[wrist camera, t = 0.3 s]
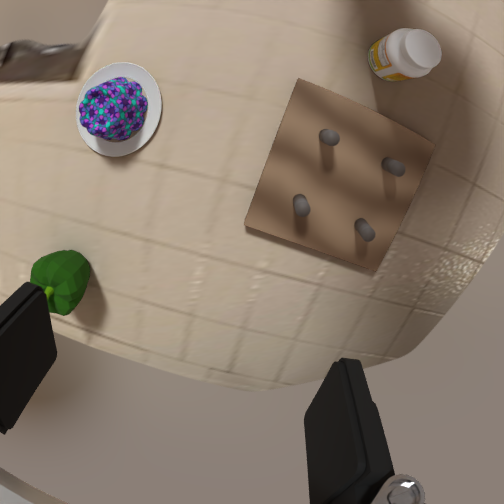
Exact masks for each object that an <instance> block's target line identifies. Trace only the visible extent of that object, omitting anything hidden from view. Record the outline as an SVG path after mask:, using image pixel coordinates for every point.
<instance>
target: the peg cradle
mask: <svg viewBox="0 0 504 504" xmlns="http://www.w3.org/2000/svg"><path fill="white" fill-rule="evenodd" d="M434 148H435V144H433V143H432V142H430V141H428V140H427V139H425V138H423V137H422V136H420V135H418V134H416V133H415V132H413V131H411V130H409V129H408V128H406V127H404V126H402V125H400V124H398V123H397V122H395V121H393V120H391V119H389V118H387V117H385V116H383V115H381V114H379V113H377V112H375V111H373V110H371V109H369V108H367V107H365V106H363V105H361V104H359V103H357V102H354V101H352V100H350V99H348V98H346V97H343V96H341V95H339V94H337V93H334V92H332V91H330V90H327V89H325V88H322V87H320V86H317V85H315V84H313V83H310V82H307V81H305V80H302V79H300V78H298V80H297V82H296V85H295V87H294V90H293V92H292V95H291V98H290V100H289V103H288V105H287V108H286V111H285V113H284V116H283V119H282V121H281V124H280V127H279V129H278V132H277V135H276V137H275V140H274V143H273V145H272V148H271V151H270V153H269V156H268V159H267V161H266V164H265V167H264V169H263V172H262V175H261V177H260V180H259V183H258V186H257V188H256V191H255V194H254V197H253V199H252V202H251V205H250V207H249V210H248V213H247V216H246V218H245V222H244V225H245V226H248V227H251V228H254V229H257V230H260V231H263V232H266V233H269V234H271V235H274V236H277V237H280V238H283V239H286V240H289V241H292V242H294V243H297V244H300V245H303V246H306V247H309V248H311V249H314V250H317V251H320V252H323V253H326V254H328V255H331V256H334V257H337V258H340V259H342V260H345V261H348V262H351V263H353V264H356V265H359V266H362V267H364V268H367V269H370V270H373V271H375V272H376V271H377V269H378V267H379V265H380V263H381V262H382V260H383V258H384V256H385V254H386V252H387V250H388V248H389V246H390V244H391V242H392V241H393V239H394V237H395V235H396V233H397V231H398V229H399V226H400V224H401V222H402V220H403V218H404V216H405V214H406V212H407V210H408V208H409V206H410V203H411V201H412V199H413V197H414V195H415V193H416V190H417V188H418V186H419V184H420V181H421V179H422V177H423V174H424V172H425V170H426V167H427V165H428V162H429V160H430V158H431V155H432V153H433V150H434Z"/></svg>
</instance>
